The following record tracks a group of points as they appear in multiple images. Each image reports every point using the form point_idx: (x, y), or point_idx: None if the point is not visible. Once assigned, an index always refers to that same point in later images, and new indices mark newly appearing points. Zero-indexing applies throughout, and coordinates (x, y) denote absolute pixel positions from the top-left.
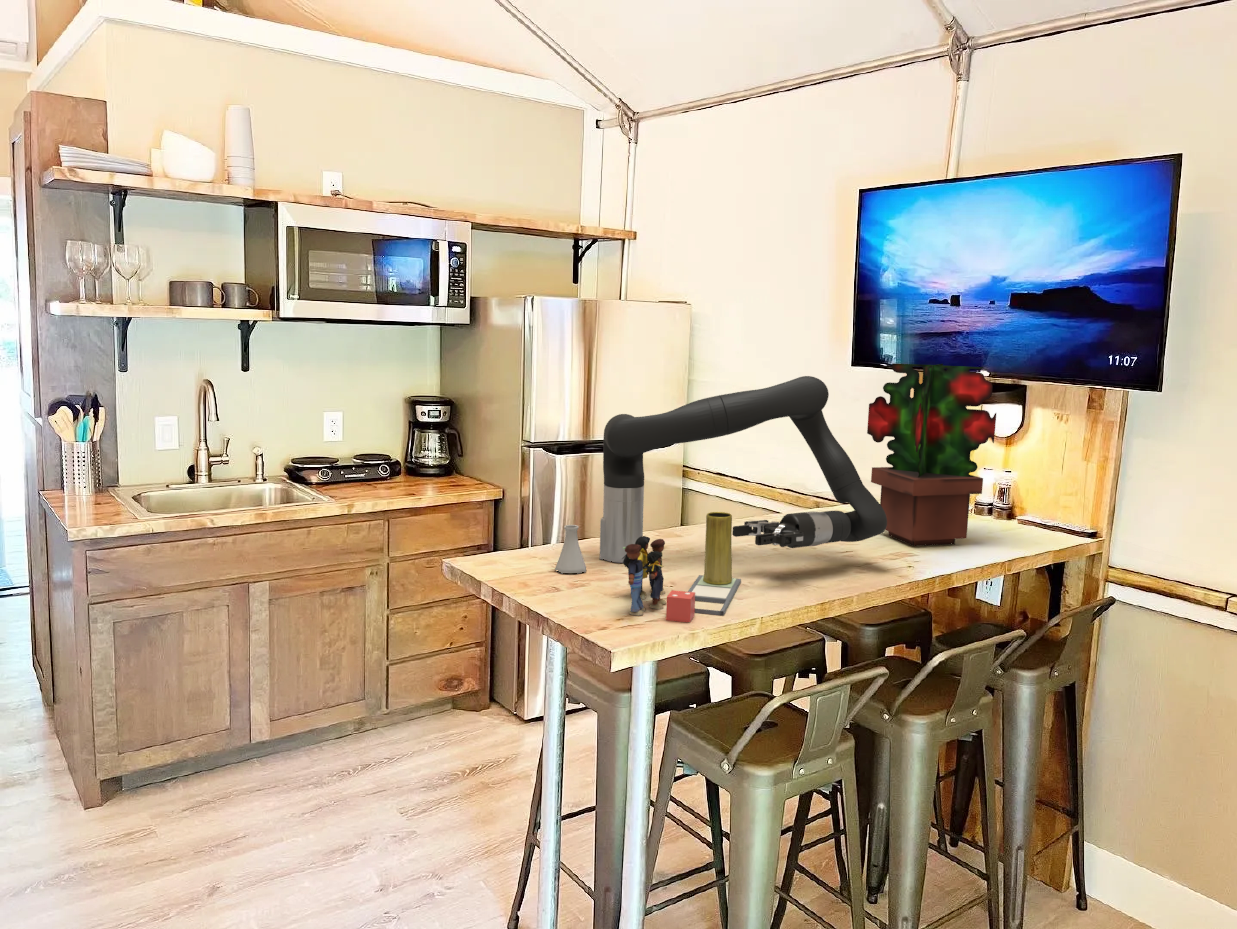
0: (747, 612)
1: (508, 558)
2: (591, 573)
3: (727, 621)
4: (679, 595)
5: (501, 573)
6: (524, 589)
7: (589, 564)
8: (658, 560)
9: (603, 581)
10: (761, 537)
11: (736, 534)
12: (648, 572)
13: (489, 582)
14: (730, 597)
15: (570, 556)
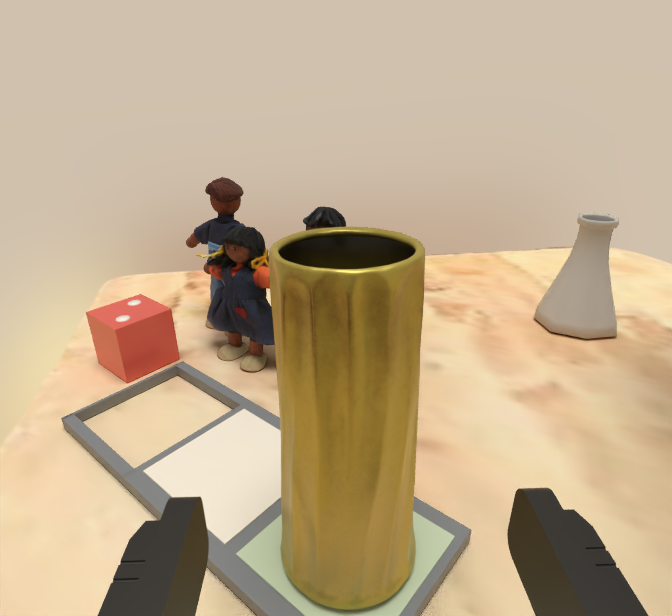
0: (16, 494)
1: (668, 283)
2: (549, 340)
3: (26, 418)
4: (126, 307)
5: (543, 266)
6: (436, 269)
7: (649, 355)
8: (225, 247)
9: (471, 339)
10: (145, 525)
11: (517, 548)
12: None
13: (485, 255)
14: (141, 490)
15: (555, 281)
